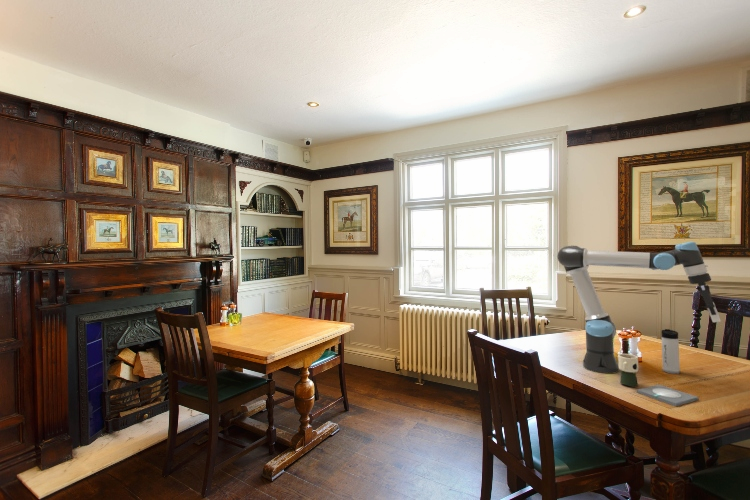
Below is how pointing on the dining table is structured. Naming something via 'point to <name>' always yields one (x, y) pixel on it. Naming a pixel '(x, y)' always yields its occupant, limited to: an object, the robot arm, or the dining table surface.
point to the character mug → (628, 369)
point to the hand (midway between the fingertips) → (716, 319)
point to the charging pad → (667, 395)
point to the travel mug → (670, 351)
